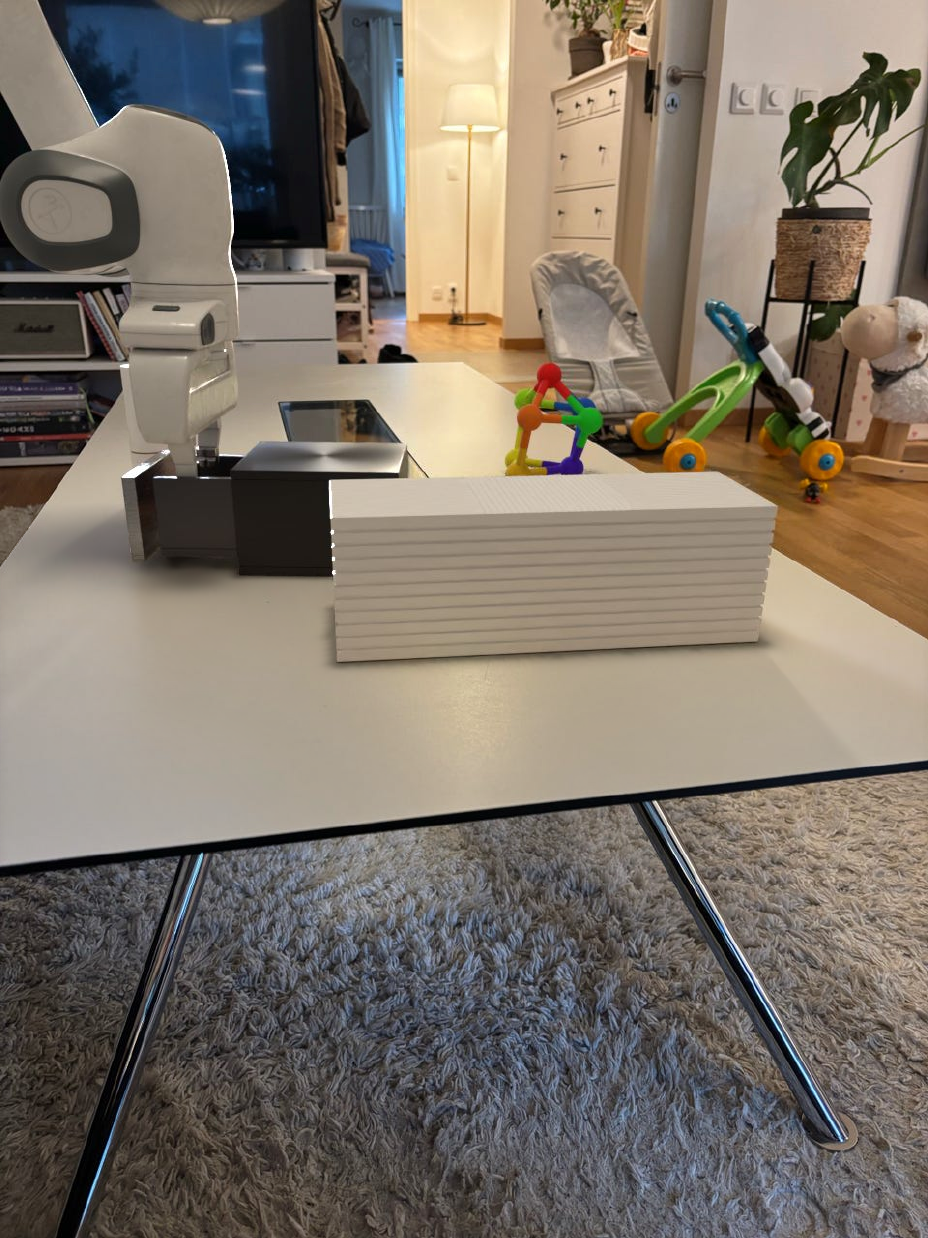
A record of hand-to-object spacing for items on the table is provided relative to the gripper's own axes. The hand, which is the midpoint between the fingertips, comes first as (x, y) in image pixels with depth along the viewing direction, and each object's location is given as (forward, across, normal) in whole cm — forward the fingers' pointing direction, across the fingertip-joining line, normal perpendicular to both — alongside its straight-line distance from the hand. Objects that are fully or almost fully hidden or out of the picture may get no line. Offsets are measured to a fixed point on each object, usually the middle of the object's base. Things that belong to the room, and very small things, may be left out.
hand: (199, 473), depth 85 cm
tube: (+8, -20, -11) cm, 24 cm away
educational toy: (+7, -32, +36) cm, 49 cm away
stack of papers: (+7, +17, +31) cm, 36 cm away
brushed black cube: (+8, 0, +12) cm, 14 cm away
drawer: (+7, 0, +1) cm, 7 cm away
